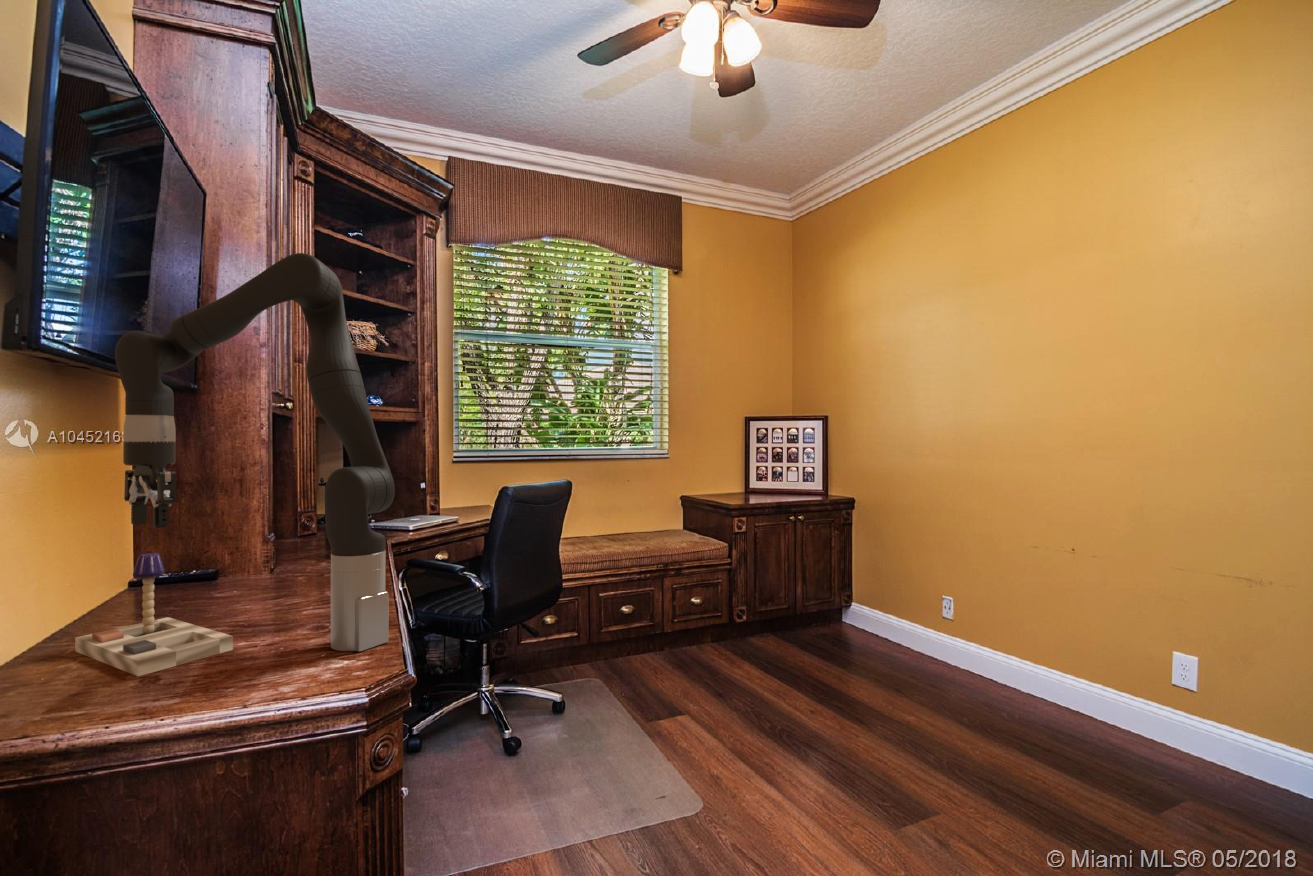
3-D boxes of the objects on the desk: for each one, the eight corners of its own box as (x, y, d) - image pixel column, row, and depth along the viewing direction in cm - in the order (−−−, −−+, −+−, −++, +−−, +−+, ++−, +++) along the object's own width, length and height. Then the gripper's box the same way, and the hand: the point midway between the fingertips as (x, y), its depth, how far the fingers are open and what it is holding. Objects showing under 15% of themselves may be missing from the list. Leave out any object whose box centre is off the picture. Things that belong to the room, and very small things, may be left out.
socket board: (233, 649, 109) (233, 630, 109) (138, 676, 96) (138, 654, 96) (167, 629, 120) (167, 612, 120) (75, 651, 108) (75, 632, 108)
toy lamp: (127, 644, 112) (128, 554, 112) (157, 636, 116) (158, 550, 116) (139, 648, 109) (140, 557, 110) (169, 640, 114) (170, 553, 114)
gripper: (192, 439, 113) (192, 525, 112) (155, 439, 119) (155, 521, 119) (143, 439, 106) (143, 531, 106) (107, 439, 113) (107, 525, 113)
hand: (149, 525), depth 113 cm, fingers open, 8 cm apart
